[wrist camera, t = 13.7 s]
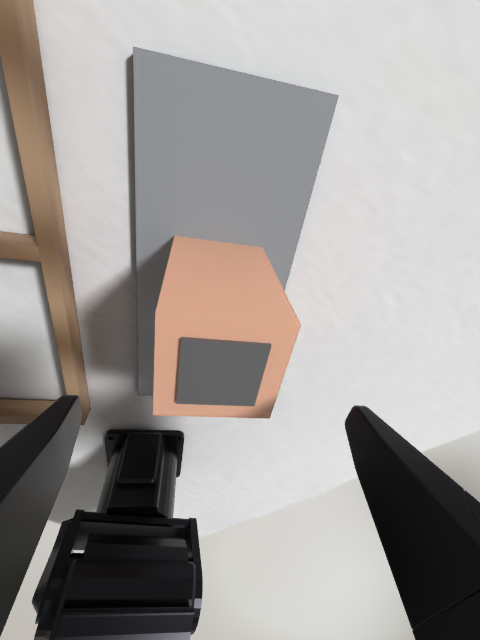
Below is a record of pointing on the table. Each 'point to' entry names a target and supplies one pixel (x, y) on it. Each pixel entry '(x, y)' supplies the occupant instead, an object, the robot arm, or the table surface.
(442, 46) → the table surface
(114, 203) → the table surface
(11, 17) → the organizer
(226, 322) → the peach block
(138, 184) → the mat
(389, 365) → the table surface
